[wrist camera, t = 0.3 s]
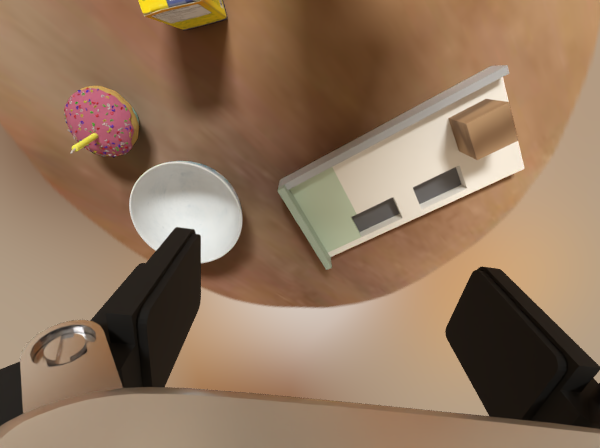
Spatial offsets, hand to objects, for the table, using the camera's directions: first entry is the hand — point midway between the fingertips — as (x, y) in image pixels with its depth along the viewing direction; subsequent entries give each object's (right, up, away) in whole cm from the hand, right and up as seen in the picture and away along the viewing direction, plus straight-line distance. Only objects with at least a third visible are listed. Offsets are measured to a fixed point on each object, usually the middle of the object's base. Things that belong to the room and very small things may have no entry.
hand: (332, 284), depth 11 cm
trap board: (+13, +10, +36) cm, 40 cm away
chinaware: (-16, +6, +38) cm, 42 cm away
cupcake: (-26, +17, +33) cm, 45 cm away
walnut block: (+22, +15, +31) cm, 41 cm away
